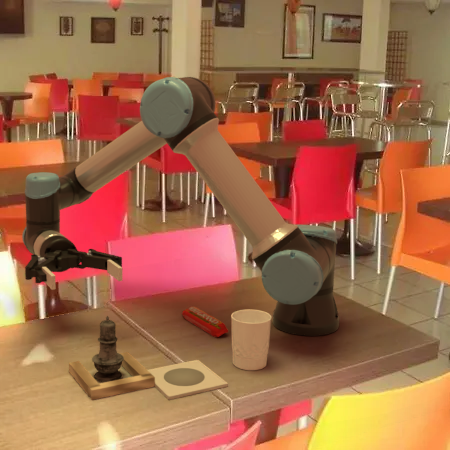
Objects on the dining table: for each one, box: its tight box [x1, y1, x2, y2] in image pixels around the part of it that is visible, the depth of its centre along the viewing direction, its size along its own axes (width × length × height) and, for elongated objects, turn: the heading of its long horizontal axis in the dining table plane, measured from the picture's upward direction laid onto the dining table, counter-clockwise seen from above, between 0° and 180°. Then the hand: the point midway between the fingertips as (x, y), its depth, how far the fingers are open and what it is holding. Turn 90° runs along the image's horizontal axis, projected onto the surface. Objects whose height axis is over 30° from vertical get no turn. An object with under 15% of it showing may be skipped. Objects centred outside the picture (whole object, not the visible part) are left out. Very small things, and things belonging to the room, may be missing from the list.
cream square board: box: [147, 359, 229, 401], centre depth 135 cm, size 12×12×1 cm
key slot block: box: [68, 351, 155, 401], centre depth 134 cm, size 12×13×2 cm
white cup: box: [230, 308, 273, 371], centre depth 142 cm, size 8×8×10 cm
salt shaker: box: [91, 315, 124, 383], centre depth 134 cm, size 6×6×12 cm
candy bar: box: [181, 305, 229, 338], centre depth 162 cm, size 16×4×3 cm, turn 33°
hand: (88, 278), depth 140 cm, fingers open, 13 cm apart
